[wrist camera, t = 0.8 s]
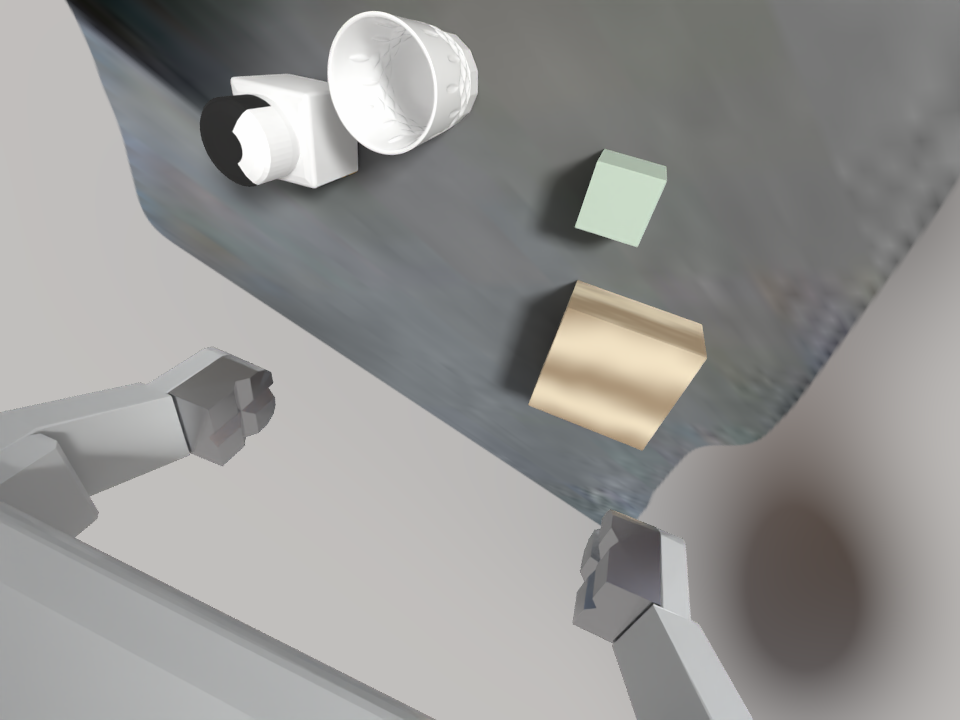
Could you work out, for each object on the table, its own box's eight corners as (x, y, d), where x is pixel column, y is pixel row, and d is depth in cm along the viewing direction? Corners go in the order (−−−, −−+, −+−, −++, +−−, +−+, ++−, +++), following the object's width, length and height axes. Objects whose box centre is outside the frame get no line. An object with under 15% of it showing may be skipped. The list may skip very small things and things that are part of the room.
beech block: (577, 278, 42) (567, 307, 37) (701, 322, 41) (706, 358, 36) (540, 371, 49) (528, 405, 45) (644, 411, 48) (642, 450, 43)
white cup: (484, 137, 37) (439, 159, 30) (401, 130, 39) (338, 150, 32) (487, 20, 33) (434, 10, 25) (392, 19, 35) (316, 11, 27)
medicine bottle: (296, 156, 44) (199, 184, 35) (287, 72, 40) (174, 79, 31) (359, 172, 43) (276, 205, 34) (357, 87, 39) (261, 99, 29)
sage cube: (604, 148, 35) (597, 160, 31) (666, 166, 34) (666, 180, 31) (583, 209, 38) (574, 227, 34) (639, 226, 38) (637, 247, 34)
